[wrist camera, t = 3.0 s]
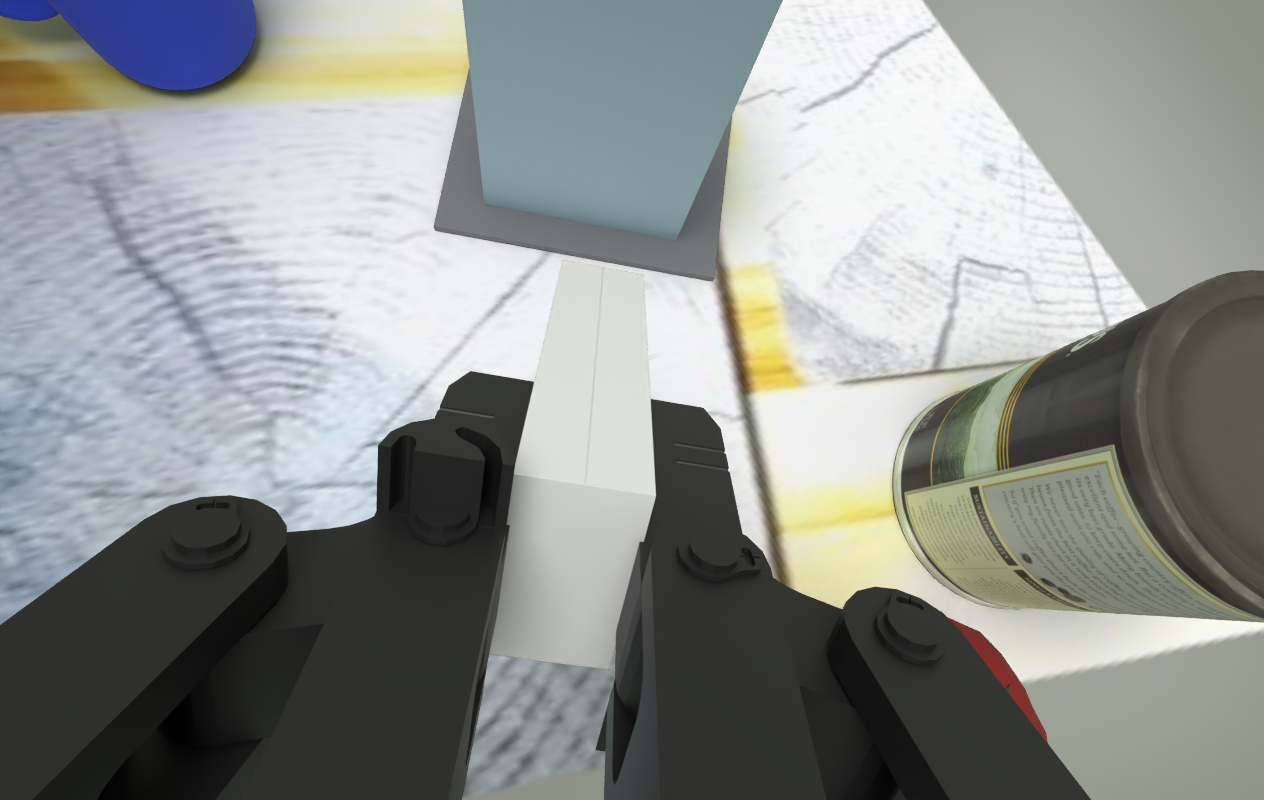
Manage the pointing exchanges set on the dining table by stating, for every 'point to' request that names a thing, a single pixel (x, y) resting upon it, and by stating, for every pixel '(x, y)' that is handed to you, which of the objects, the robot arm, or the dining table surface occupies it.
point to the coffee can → (1105, 469)
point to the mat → (475, 219)
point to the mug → (156, 35)
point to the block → (607, 102)
